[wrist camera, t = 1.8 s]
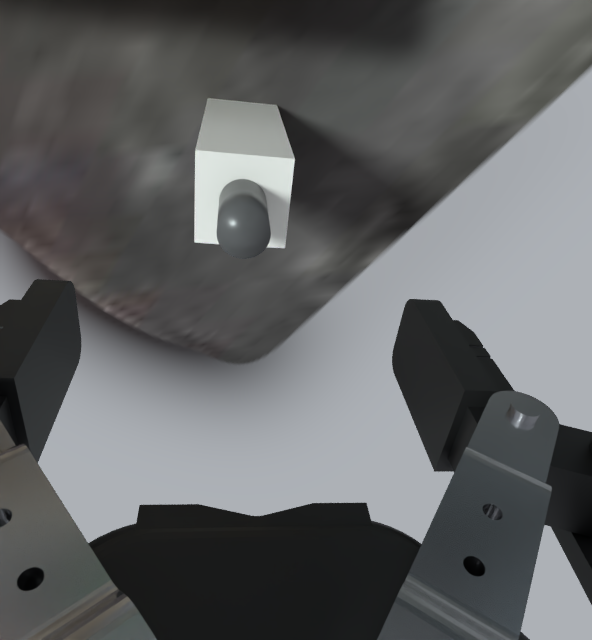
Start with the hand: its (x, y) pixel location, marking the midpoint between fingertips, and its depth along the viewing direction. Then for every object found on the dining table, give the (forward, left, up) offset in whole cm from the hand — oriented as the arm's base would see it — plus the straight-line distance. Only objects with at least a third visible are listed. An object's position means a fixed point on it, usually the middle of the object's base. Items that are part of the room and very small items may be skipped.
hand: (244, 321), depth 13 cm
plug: (0, 0, -18) cm, 18 cm away
